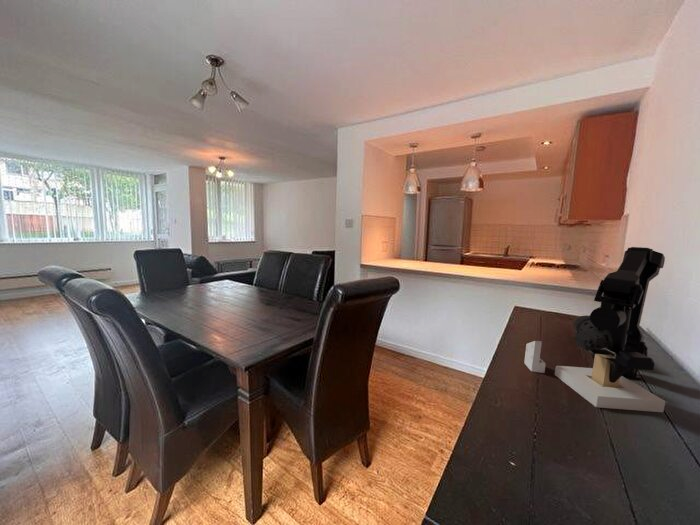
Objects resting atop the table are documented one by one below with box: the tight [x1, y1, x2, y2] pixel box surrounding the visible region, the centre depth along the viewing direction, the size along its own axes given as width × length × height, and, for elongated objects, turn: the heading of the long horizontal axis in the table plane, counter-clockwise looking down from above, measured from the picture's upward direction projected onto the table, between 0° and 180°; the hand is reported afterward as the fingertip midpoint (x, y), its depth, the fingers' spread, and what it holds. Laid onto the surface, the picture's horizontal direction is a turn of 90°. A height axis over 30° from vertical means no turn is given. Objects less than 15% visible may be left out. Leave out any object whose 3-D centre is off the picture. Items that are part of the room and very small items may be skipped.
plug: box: [591, 354, 620, 388], centre depth 78 cm, size 4×4×8 cm
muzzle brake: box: [572, 315, 594, 333], centre depth 109 cm, size 10×28×10 cm, turn 158°
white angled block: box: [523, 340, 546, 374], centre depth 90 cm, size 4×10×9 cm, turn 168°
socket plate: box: [554, 365, 666, 413], centre depth 79 cm, size 16×16×3 cm
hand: (605, 378), depth 78 cm, fingers closed on plug, 4 cm apart
